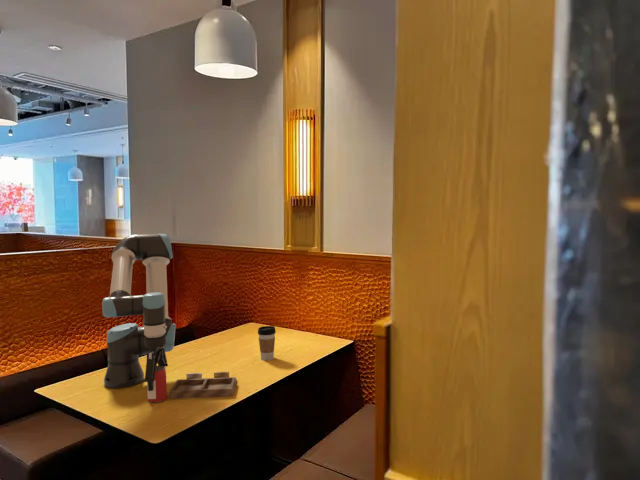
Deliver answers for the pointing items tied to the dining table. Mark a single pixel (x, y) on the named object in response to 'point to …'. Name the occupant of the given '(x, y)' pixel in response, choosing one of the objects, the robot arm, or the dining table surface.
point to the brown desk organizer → (203, 386)
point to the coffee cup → (267, 342)
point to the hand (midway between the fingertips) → (157, 391)
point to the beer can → (160, 385)
